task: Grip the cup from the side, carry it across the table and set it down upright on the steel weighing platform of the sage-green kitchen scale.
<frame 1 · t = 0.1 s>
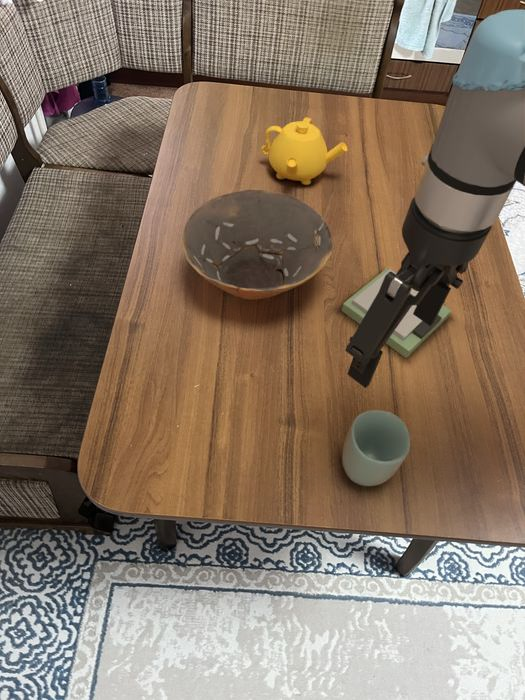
hand: (392, 347, 65), 19 cm above the table, tool pointing down, fingers open, 13 cm apart
bowl: (254, 277, 97), on the table
teapot: (299, 175, 116), on the table
scale: (394, 314, 94), on the table
cup: (363, 468, 76), on the table
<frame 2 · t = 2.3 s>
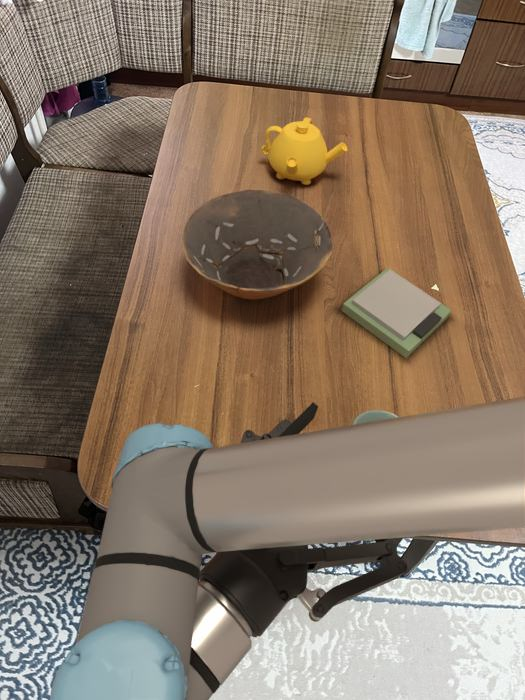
hand: (362, 449, 57), 19 cm above the table, tool horizontal, fingers open, 13 cm apart
nothing on the table moved.
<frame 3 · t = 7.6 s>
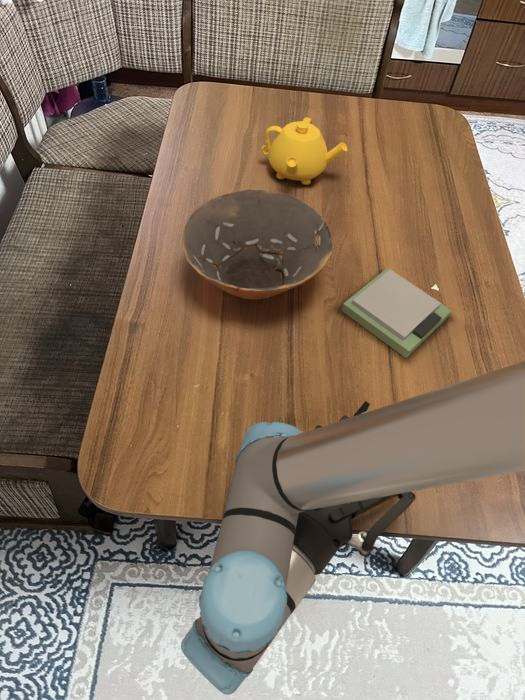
hand: (391, 425, 73), 6 cm above the table, tool horizontal, fingers closed on cup, 8 cm apart
cup: (363, 468, 76), on the table, touching gripper
everything else where it was.
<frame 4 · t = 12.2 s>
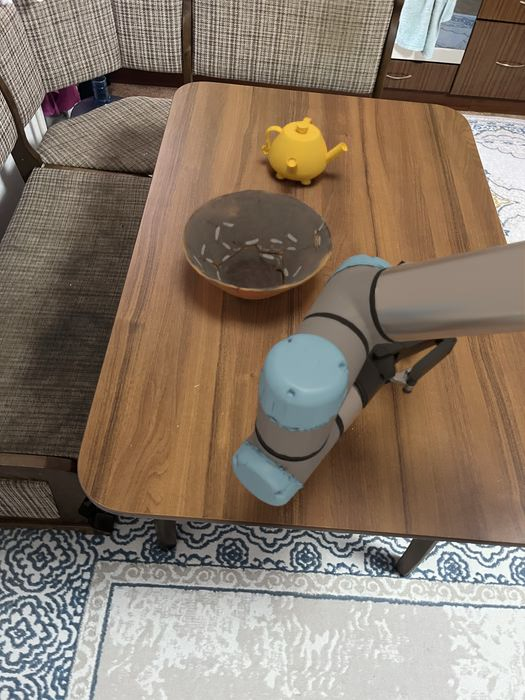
hand: (428, 284, 73), 18 cm above the table, tool horizontal, fingers closed on cup, 8 cm apart
cup: (399, 332, 76), point 12 cm above the table, touching gripper
everything else where it was.
when the fingers open (9 cm above the table, at t = 17.0 s): cup stays where it is, resting on scale.
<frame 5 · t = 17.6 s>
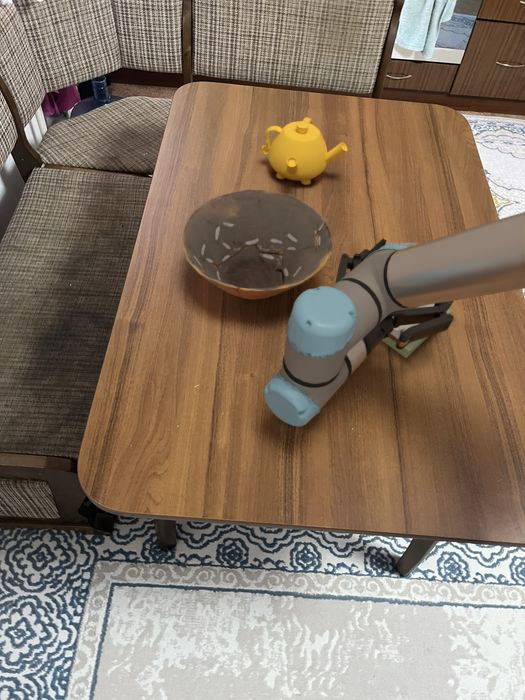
hand: (417, 264, 88), 9 cm above the table, tool horizontal, fingers open, 13 cm apart
cup: (396, 302, 92), point 3 cm above the table, touching scale
everything else where it was.
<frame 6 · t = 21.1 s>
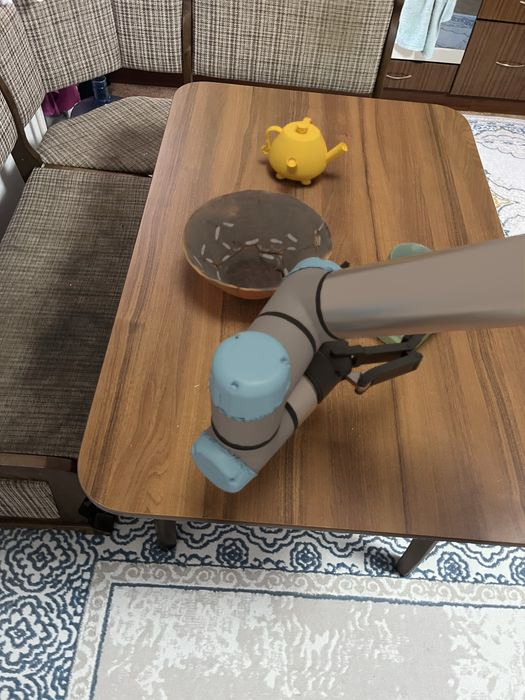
hand: (385, 291, 76), 15 cm above the table, tool horizontal, fingers open, 13 cm apart
nothing on the table moved.
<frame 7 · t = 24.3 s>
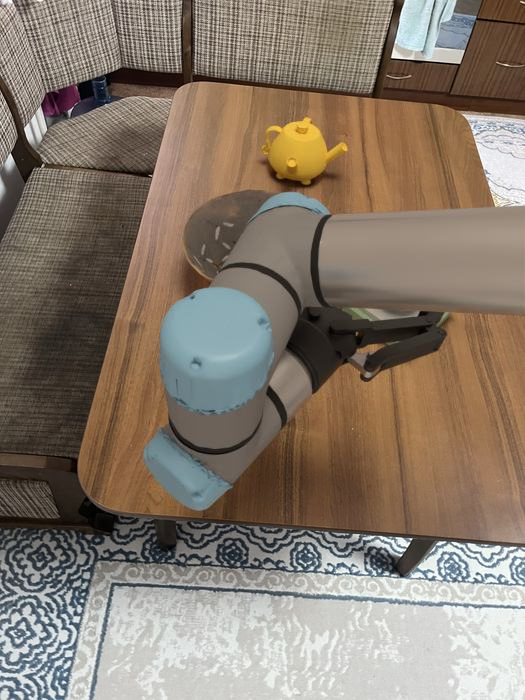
hand: (396, 255, 62), 28 cm above the table, tool horizontal, fingers open, 13 cm apart
nothing on the table moved.
at the end: cup inside the target area on the scale (0.0 cm from its centre), point 2.8 cm above the scale's base; cup tilted 0°; the gripper is holding nothing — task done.
